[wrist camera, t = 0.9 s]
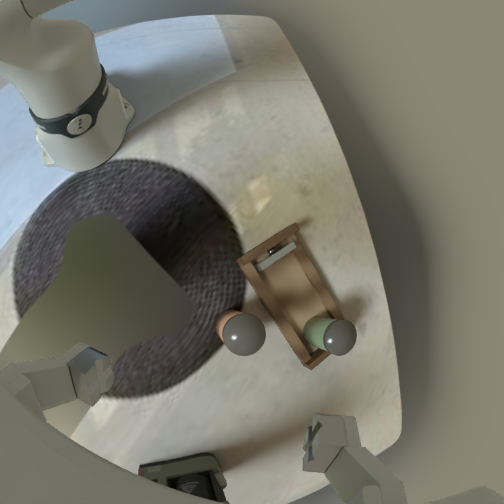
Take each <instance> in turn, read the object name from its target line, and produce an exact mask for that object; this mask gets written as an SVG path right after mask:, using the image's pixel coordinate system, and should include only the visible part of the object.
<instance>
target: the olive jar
mask: <svg viewBox="0 0 504 504" xmlns="http://www.w3.org/2000/svg"><path fill="white" fill-rule="evenodd" d="M303 337H304V339H305V341H306V342H307V343H308V344H310V345H312V346H315V347H318V348H320V349H323V350H325V351H328V352H329V353H331V354H334V355H338V356H341V355H345V354H347V353H348V352H349V351H350V350H351V349H352V348H353V346H354V345H355V342H356V337H357V333H356V329H355V327H354V325H353V324H352V323H351V322H349V321H347V320H337V319H331V318H325V317H319V316H316V317H312V318H310V319H309V320H308V321H307V322H306V323H305V325H304V328H303Z"/></svg>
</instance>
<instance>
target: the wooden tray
mask: <svg viewBox="0 0 504 504" xmlns="http://www.w3.org/2000/svg"><path fill="white" fill-rule="evenodd" d="M298 230H299V227H298V226H297V224H296V223H294V224H292V225H290V226H288V227H287V228H285V229H283V230H282V231H280V232H279V233H277V234H275V235H274V236H272V237H271V238H269V239H268V240H266V241H264V242H263V243H261V244H260V245H258V246H257V247H255V248H253V249H252V250H250V251H249V252H247V253H246V254H244V255H243V256H241V257H239V258H238V259H236V262H237V264H238V265H239V267H240V268H241V270H242V272H243V273H244V275H245V276H246V278H247V279H248V281H249V283H250V284H251V286H252V287H253V289H254V290H255V292H256V294H257V295H258V297H259V298H260V300H261V301H262V303H263V304H264V306H265V308H266V309H267V311H268V312H269V314H270V315H271V317H272V318H273V320H274V321H275V323H276V325H277V326H278V328H279V329H280V331H281V332H282V334H283V335H284V337H285V338H286V340H287V341H288V343H289V344H290V346H291V347H292V349H293V351H294V352H295V354H296V355H297V357H298V358H299V360H300V361H301V363H302V364H303V366H305V367H307V368H309V369H310V370H312V369H313V368H315V367H316V366H317V365H318V364H319V363H321V362H322V361H323V360H324V359H325V358H327V357H328V356H329V355H330V354H331V353H329V352H328V351H325V350H323V349H320V348H318V347H315V346H312V345H310V344H308V343H307V342H306V341H305V339H304V337H303V328H304V325H305V323H306V322H307V321H308V320H309V319H310V318H312V317H316V316H319V317H325V318H331V319H337V320H344V318H343V316H342V314H341V313H340V311H339V309H338V307H337V306H336V304H335V302H334V300H333V299H332V297H331V295H330V293H329V292H328V290H327V288H326V286H325V285H324V283H323V281H322V279H321V278H320V276H319V274H318V273H317V271H316V269H315V268H314V266H313V264H312V263H311V261H310V259H309V257H308V256H307V254H306V252H305V251H304V249H303V248H302V246H301V244H300V243H299V241H298V239H297V238H296V236H295V234H294V233H295V232H296V231H298ZM290 242H294V243H295V245H296V248H295V249H293V250H292V251H290V252H289V253H287V254H286V255H284V256H283V257H281V258H280V259H278V260H277V261H275V262H274V263H273V264H271V265H270V266H268V267H267V268H265V269H264V270H261V271H256V270H255V268H254V265H255V264H257V263H258V262H260V261H261V260H263V259H264V258H266V257H267V256H269V254H268V252H267V250H269V249H270V248H272V247H274V249H275V250H278V249H279V248H281V247H282V246H284V245H285V244H288V243H290Z"/></svg>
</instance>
